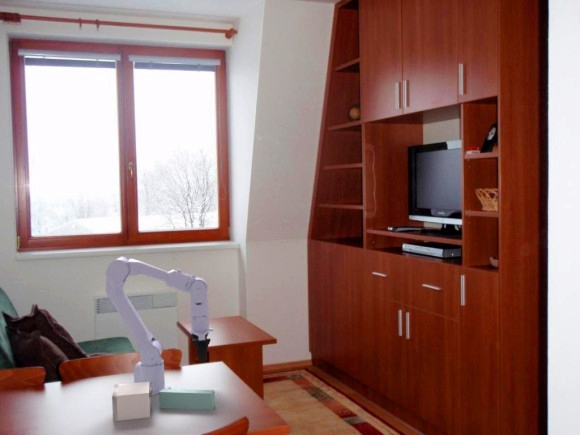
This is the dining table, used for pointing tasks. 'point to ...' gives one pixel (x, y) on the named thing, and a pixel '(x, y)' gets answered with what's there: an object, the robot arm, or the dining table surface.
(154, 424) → the dining table surface
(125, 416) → the white box
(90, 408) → the dining table surface
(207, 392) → the mint green rectangular block
